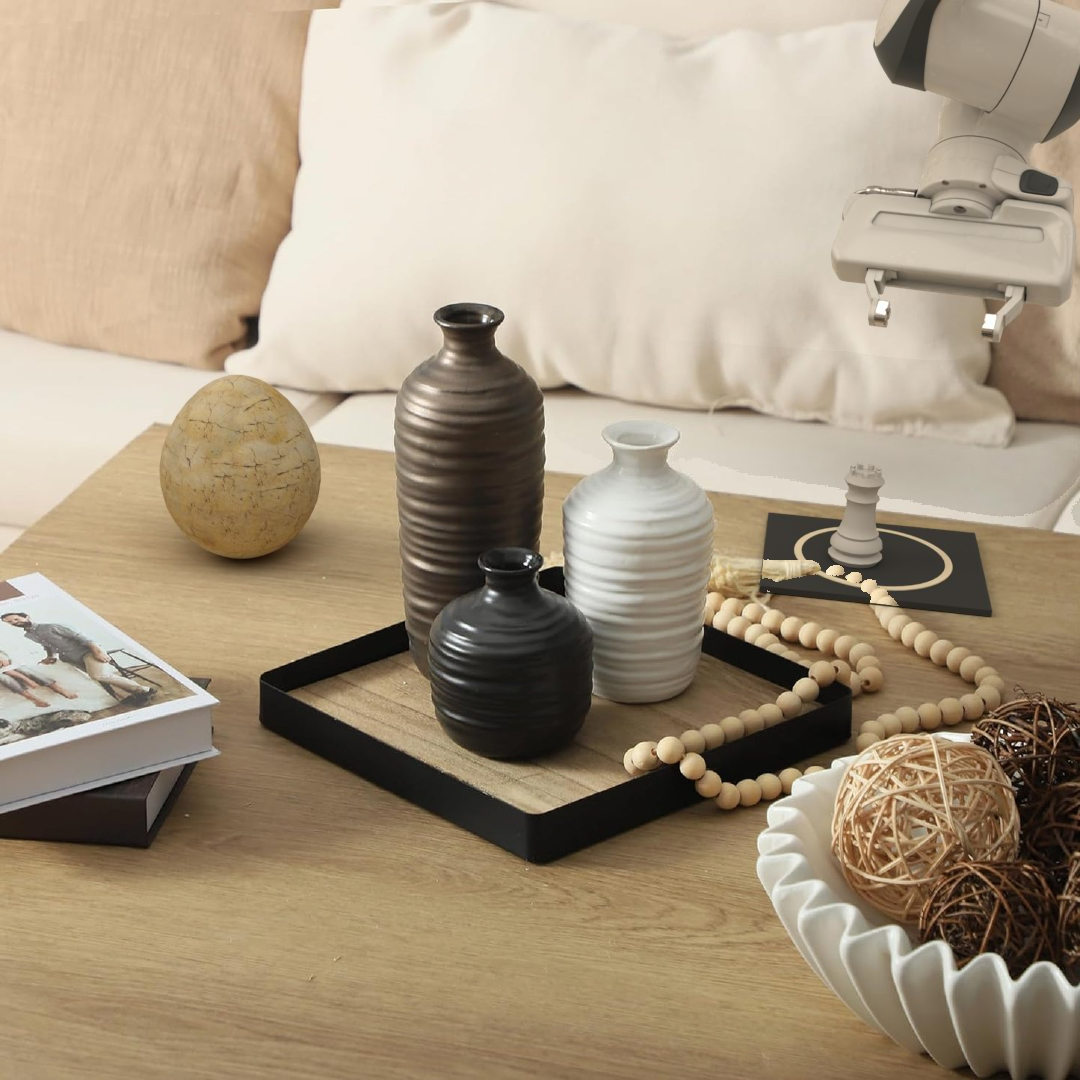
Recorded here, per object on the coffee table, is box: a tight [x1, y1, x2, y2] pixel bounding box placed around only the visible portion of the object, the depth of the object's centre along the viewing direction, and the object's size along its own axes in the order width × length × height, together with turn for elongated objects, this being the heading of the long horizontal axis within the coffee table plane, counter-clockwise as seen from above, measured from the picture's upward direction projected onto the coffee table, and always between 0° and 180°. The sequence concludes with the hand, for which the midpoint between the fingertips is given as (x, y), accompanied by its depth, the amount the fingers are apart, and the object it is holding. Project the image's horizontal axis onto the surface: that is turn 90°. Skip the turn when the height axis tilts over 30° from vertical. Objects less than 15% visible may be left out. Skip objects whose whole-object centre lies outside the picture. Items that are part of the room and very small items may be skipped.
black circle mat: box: [758, 512, 993, 618], centre depth 123 cm, size 18×16×1 cm
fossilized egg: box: [159, 374, 322, 560], centre depth 118 cm, size 13×13×15 cm
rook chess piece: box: [828, 463, 886, 568], centre depth 121 cm, size 4×4×8 cm
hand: (932, 330), depth 124 cm, fingers open, 8 cm apart
